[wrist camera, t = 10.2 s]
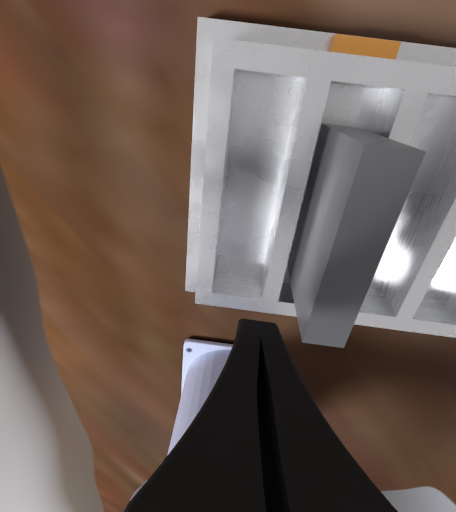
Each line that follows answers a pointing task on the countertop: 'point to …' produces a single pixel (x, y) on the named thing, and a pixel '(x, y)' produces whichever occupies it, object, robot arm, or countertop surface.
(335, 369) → the countertop surface
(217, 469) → the robot arm
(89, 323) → the countertop surface
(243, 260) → the rack
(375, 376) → the countertop surface
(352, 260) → the panel
